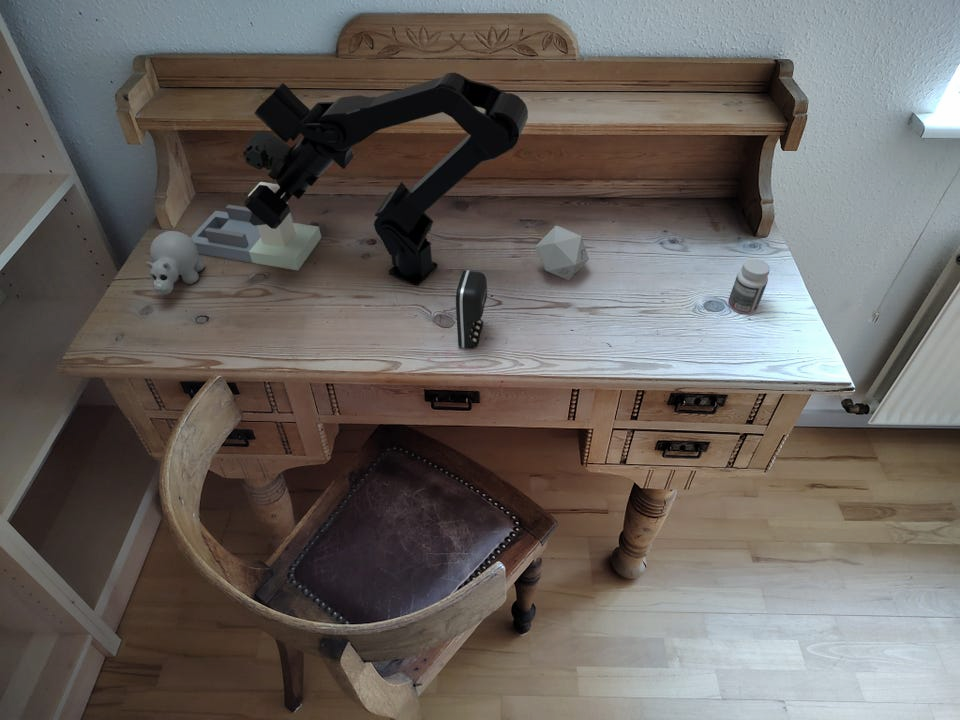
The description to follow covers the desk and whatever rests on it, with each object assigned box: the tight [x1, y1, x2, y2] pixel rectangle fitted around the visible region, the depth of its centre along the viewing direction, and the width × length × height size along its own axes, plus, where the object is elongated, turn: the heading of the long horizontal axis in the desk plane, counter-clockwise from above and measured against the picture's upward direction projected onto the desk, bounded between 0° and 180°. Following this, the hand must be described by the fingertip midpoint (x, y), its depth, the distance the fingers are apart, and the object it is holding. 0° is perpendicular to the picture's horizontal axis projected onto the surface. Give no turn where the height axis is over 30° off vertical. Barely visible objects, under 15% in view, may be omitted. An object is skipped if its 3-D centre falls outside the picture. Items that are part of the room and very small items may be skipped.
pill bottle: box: [727, 257, 771, 315], centre depth 107 cm, size 5×5×8 cm
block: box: [247, 181, 296, 247], centre depth 117 cm, size 4×4×10 cm
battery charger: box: [455, 269, 488, 349], centre depth 102 cm, size 7×4×11 cm, turn 170°
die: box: [534, 225, 590, 281], centre depth 115 cm, size 8×9×10 cm
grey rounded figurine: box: [145, 230, 206, 296], centre depth 112 cm, size 8×12×9 cm, turn 176°
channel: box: [189, 204, 322, 271], centre depth 121 cm, size 22×10×5 cm, turn 75°
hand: (264, 208), depth 116 cm, fingers open, 9 cm apart
